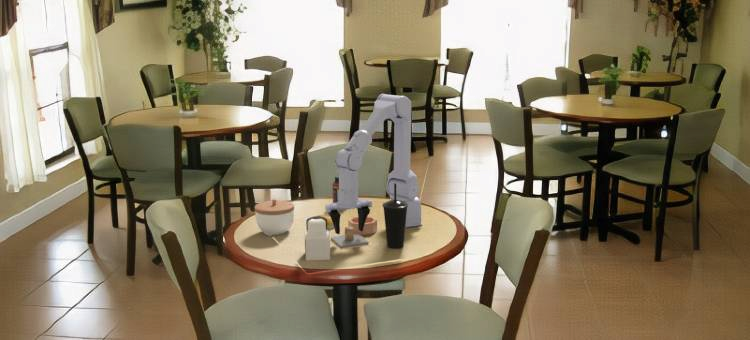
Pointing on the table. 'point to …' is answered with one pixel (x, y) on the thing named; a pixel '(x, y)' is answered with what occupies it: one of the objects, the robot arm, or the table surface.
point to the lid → (349, 239)
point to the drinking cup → (395, 221)
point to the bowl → (369, 225)
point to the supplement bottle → (336, 189)
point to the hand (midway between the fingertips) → (349, 231)
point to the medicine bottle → (317, 239)
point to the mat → (348, 247)
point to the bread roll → (328, 222)
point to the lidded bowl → (274, 216)
